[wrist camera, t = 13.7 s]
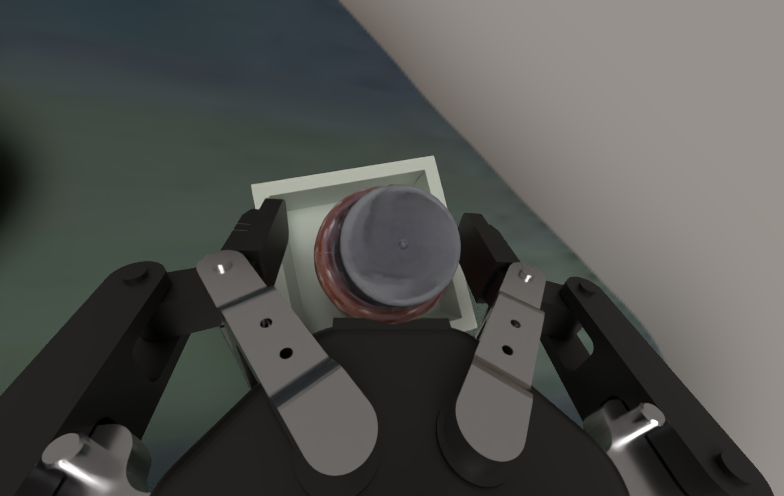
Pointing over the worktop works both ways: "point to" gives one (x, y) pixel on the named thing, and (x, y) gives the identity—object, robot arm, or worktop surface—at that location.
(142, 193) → the worktop surface
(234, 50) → the worktop surface
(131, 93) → the worktop surface
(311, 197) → the box
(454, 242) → the supplement bottle
